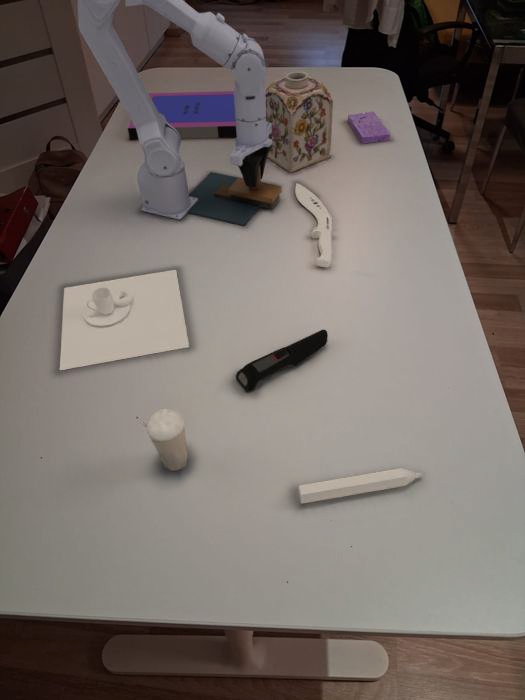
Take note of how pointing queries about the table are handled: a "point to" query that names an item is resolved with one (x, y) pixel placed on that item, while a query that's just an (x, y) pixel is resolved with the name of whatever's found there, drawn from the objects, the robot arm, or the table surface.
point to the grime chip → (223, 192)
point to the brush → (255, 192)
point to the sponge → (368, 127)
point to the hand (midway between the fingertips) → (254, 182)
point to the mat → (220, 201)
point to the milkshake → (168, 437)
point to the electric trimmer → (280, 360)
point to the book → (196, 114)
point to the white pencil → (356, 484)
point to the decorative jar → (299, 121)
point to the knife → (321, 229)
